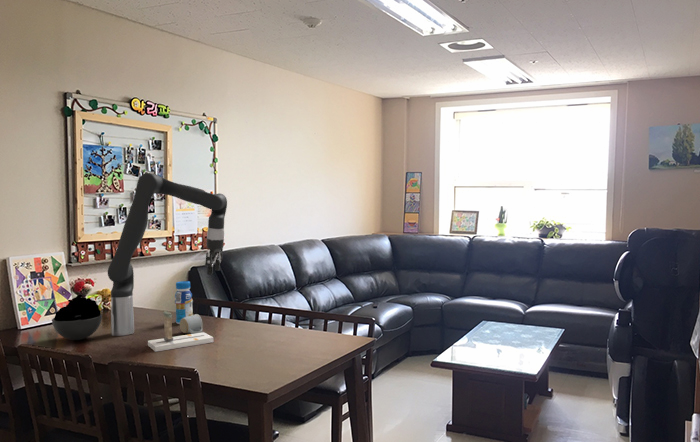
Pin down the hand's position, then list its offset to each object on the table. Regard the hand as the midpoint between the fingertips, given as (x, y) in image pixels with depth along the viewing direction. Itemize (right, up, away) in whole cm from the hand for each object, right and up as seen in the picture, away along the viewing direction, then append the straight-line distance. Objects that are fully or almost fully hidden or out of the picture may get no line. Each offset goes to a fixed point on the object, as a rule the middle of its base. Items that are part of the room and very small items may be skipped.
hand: (213, 272), depth 266 cm
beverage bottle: (-19, -26, +20) cm, 38 cm away
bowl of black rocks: (-57, -29, -9) cm, 65 cm away
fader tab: (-13, -26, -25) cm, 38 cm away
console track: (-8, -28, -22) cm, 37 cm away
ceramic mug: (-9, -27, -2) cm, 29 cm away
